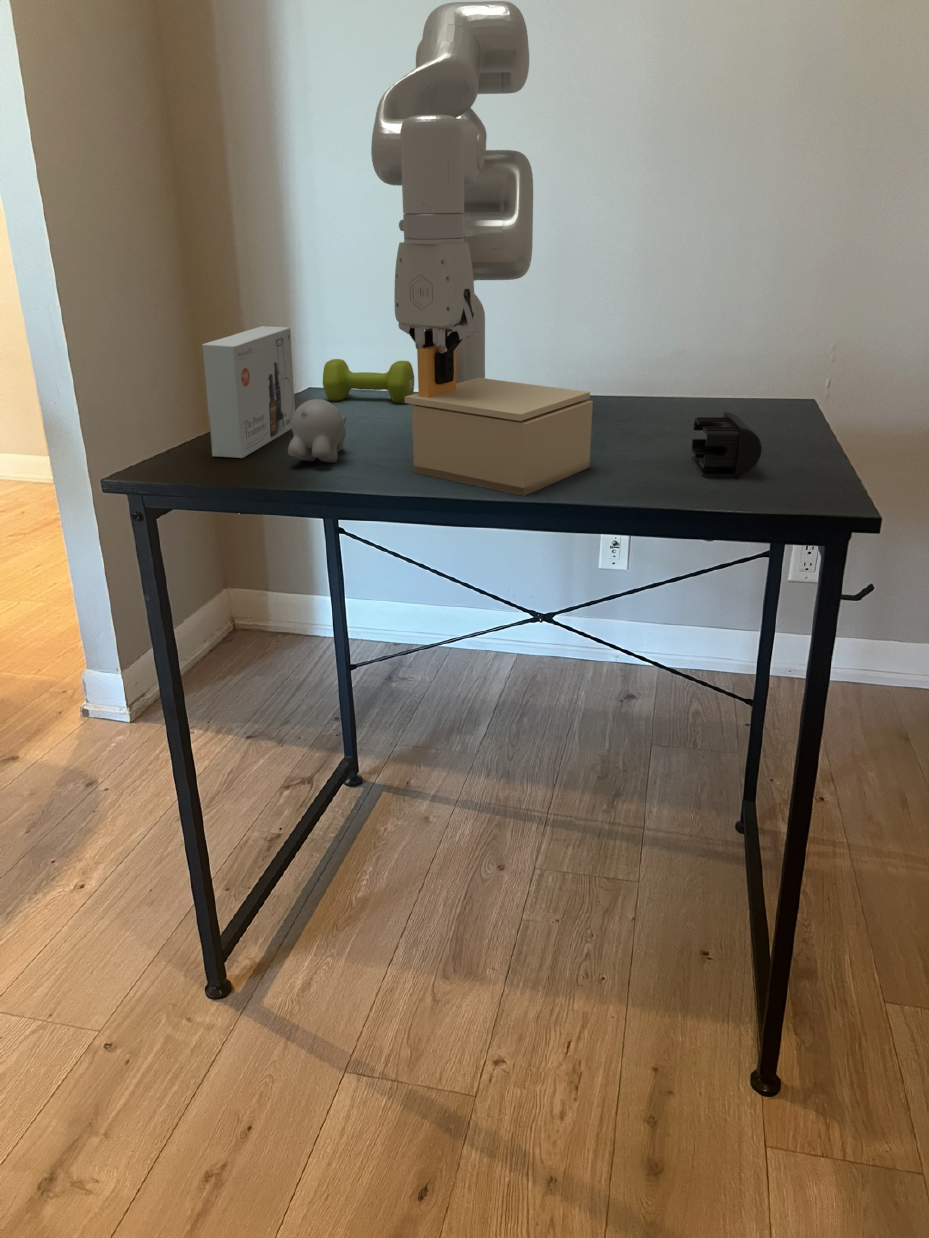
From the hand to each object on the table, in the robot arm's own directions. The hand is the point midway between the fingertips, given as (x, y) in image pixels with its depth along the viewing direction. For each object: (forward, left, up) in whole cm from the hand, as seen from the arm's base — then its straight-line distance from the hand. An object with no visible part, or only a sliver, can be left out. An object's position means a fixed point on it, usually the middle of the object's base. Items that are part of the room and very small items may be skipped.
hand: (437, 380), depth 117 cm
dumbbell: (-28, -39, -12) cm, 49 cm away
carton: (-4, +8, -12) cm, 15 cm away
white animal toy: (+6, -16, -12) cm, 21 cm away
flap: (-4, +7, -2) cm, 8 cm away
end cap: (-22, +32, -12) cm, 40 cm away
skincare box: (+5, -32, -12) cm, 35 cm away
